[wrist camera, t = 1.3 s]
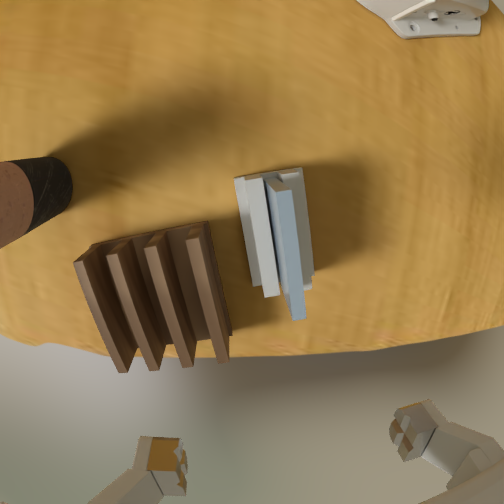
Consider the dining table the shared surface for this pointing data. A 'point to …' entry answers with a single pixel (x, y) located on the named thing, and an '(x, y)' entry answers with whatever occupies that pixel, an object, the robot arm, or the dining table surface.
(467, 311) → the dining table surface
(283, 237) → the side plate
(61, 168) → the travel mug
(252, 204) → the plate stand
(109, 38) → the dining table surface
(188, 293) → the dish rack
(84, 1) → the dining table surface
